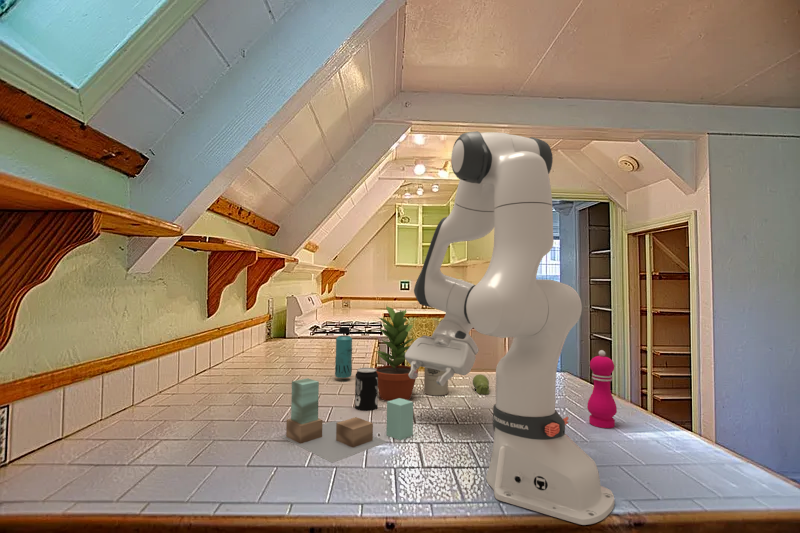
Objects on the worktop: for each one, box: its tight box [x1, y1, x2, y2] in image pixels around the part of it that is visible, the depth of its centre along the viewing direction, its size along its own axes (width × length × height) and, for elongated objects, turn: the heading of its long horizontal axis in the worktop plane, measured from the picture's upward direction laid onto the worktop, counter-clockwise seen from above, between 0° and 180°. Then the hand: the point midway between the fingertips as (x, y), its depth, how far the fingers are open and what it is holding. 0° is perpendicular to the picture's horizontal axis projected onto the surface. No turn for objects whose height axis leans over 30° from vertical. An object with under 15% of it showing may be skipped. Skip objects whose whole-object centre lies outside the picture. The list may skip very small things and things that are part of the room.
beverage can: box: [354, 367, 379, 412], centre depth 125 cm, size 7×7×12 cm
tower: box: [285, 378, 323, 444], centre depth 101 cm, size 6×6×13 cm
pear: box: [472, 373, 490, 395], centre depth 148 cm, size 6×5×10 cm
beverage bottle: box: [334, 326, 353, 379], centre depth 162 cm, size 6×7×20 cm
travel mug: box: [423, 367, 449, 397], centre depth 145 cm, size 8×8×18 cm
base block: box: [336, 416, 374, 447], centre depth 99 cm, size 6×6×4 cm
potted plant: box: [375, 304, 419, 402], centre depth 140 cm, size 15×15×30 cm
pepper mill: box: [587, 349, 618, 429], centre depth 116 cm, size 7×7×20 cm
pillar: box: [386, 398, 414, 441], centre depth 103 cm, size 4×4×9 cm
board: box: [280, 420, 388, 464], centre depth 100 cm, size 20×16×1 cm
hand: (425, 380), depth 110 cm, fingers open, 8 cm apart
